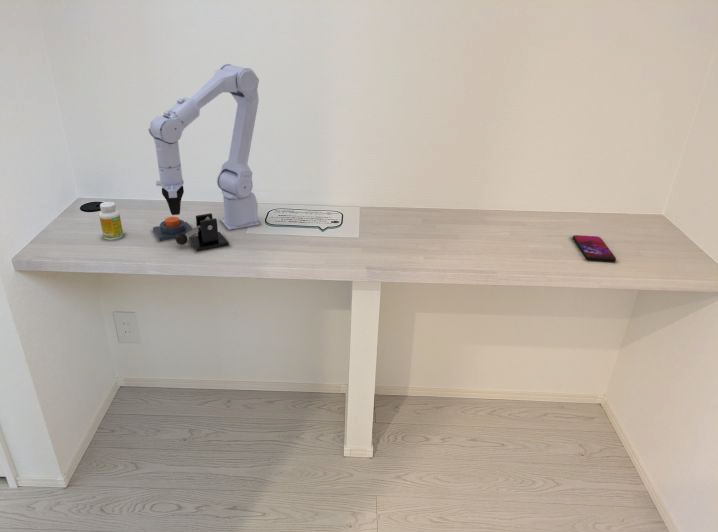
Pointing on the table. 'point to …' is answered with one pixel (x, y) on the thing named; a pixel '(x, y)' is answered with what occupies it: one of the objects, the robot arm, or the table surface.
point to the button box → (171, 230)
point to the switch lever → (188, 234)
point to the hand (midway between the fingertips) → (175, 213)
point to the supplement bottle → (110, 221)
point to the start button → (172, 221)
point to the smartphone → (594, 248)
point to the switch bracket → (207, 234)
